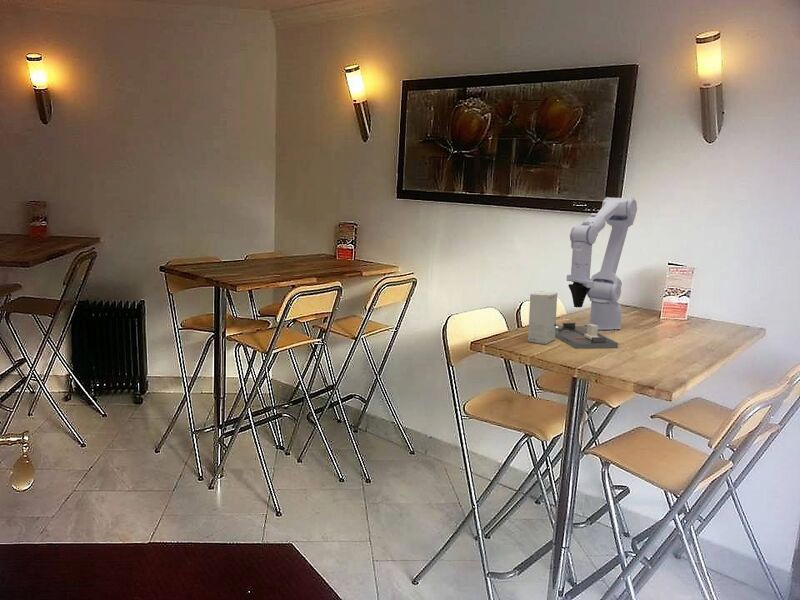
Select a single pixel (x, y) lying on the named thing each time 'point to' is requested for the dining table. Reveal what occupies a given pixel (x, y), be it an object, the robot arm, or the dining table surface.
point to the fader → (591, 331)
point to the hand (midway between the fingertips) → (577, 307)
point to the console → (582, 337)
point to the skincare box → (542, 317)
